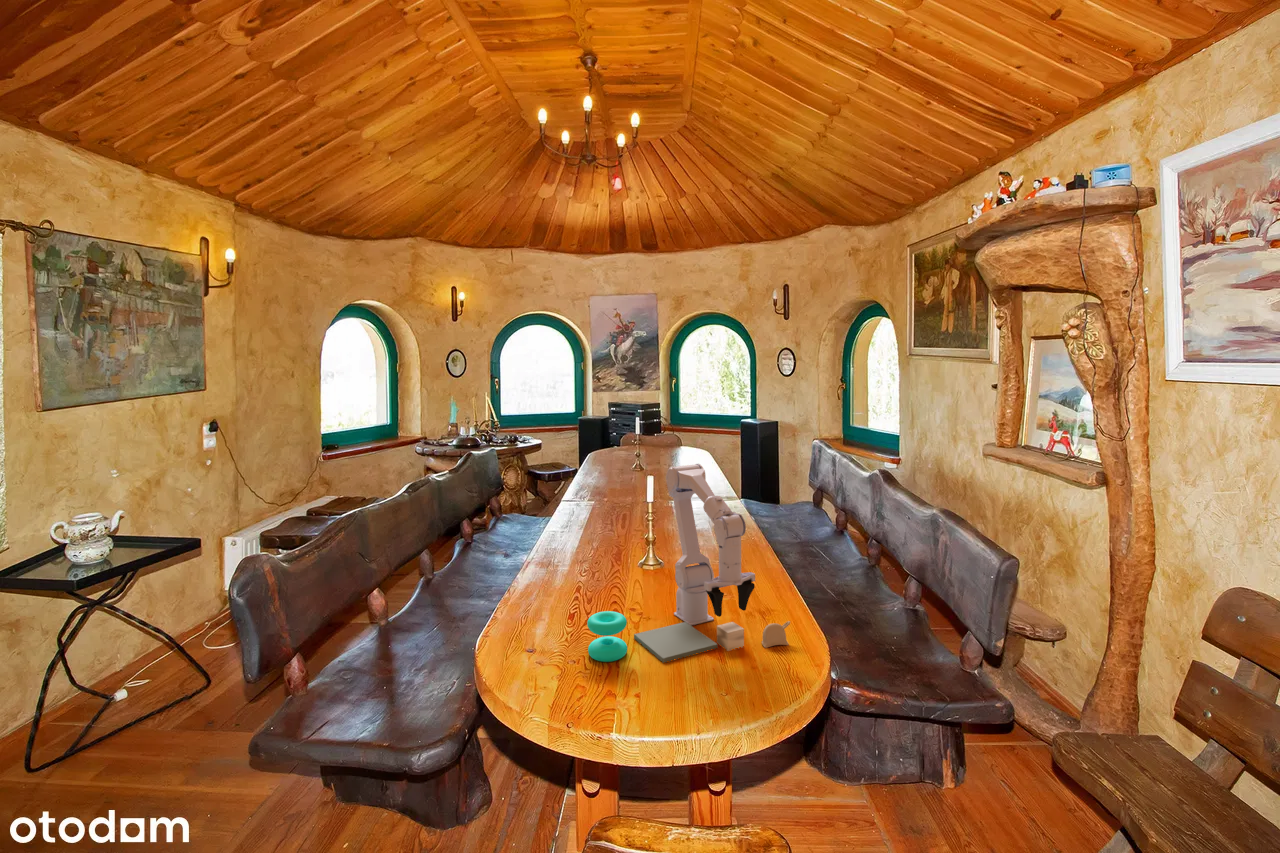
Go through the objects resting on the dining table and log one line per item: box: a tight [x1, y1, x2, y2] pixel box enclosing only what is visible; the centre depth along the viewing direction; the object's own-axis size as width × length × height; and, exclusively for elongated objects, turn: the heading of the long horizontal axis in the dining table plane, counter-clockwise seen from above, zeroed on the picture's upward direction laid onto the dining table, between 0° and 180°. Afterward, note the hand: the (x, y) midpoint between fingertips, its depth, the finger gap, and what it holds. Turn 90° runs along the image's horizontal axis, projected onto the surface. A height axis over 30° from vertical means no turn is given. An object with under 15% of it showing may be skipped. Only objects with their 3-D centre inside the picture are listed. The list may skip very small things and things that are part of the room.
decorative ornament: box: [761, 620, 791, 649], centre depth 176 cm, size 4×8×5 cm, turn 101°
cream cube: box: [716, 621, 745, 652], centre depth 175 cm, size 5×5×5 cm
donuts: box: [586, 610, 628, 663], centre depth 171 cm, size 10×10×10 cm
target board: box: [633, 621, 719, 664], centre depth 177 cm, size 16×16×1 cm
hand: (730, 612), depth 174 cm, fingers open, 7 cm apart
